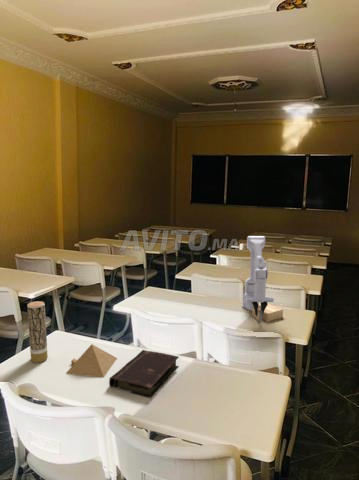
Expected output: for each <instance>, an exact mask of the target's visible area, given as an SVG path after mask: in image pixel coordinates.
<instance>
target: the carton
mask: <svg viewBox="0 0 359 480" xmlns="http://www.w3.org/2000/svg"><path fill="white" fill-rule="evenodd" d="M253 308H254V307H253ZM260 310H261V305H259V306H258V313H259V311H260ZM283 314H284V309H283V308H280V307H278V306H275V305H273V304H270V303H268V305H267V307H266V308H265V310H264V313H263V316H262V321H266V322H271V321H274V320H278V319H281V318H283V317H284V315H283Z"/></svg>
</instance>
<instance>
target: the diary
mask: <svg viewBox="0 0 359 480" xmlns="http://www.w3.org/2000/svg"><path fill="white" fill-rule="evenodd" d="M179 358H180V357H179V356H178V355H177V356H176V355H173V354H169V353H164V352H159V351H158V352H157V351H152V350H145V349H142V350H140V352H139V353H138V354H137V355H135V357H133V358H132V359H131V360H129V361H128V362H127V363H125V365H124V366H122V367H121V368H119V370H118V371H117V372H116V373H114V374H112V376H110V377H109V381H108V383H109V384H108V385H109V388H112V387H114V386H115V388H118V389H120V390H121V389H122V390H125V391H129V392H130V394H133V395H138V396H141V397H144V398H147V399H148V398H152V397H153V396H154V395H155V394H156V393H157V392H158V391H159V390H160V389H161V388H162V386H163V385H164V384H165V382H167V381H168V380H169V378H170V377H171V375H172V374H173V373H174V372H176V370H177V369H178V368H179V367H180V366H179V365H177V360H178V359H179Z"/></svg>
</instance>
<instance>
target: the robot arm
mask: <svg viewBox="0 0 359 480" xmlns="http://www.w3.org/2000/svg"><path fill="white" fill-rule="evenodd" d="M265 246H266V237H265V235H263V236H262V235H260V236H259V235H247V237H246V249H247V250H249V252H250V262H249V263H250V265H249V266H250V267H249V268H250V270H249V271H250V273H249V277H248V278H247V279H246V280H244V281H245V283H244V293H243V296H242V305H241V307H242V308H244V309H246V310H248V311H250V312H252V308H253V307H254V310H255V315H256V316H258V306H261V311H262V313H264V310H265V308H266V307H267V305H268V304H269V303H274V302H275V301H274V297H266V292H267V291H266V289H267V279H268V277H269V271H268V268H267V266H266V260H265V258H264V257H263V250H264V248H265ZM262 316H263V314H262Z"/></svg>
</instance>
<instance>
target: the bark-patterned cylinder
mask: <svg viewBox="0 0 359 480" xmlns="http://www.w3.org/2000/svg"><path fill="white" fill-rule="evenodd" d="M26 308H27V319H28V320H27V321H28V322H27V323H28V334H29V337H28V338H29V352H30V360H31V362H33V363H42V362H45V361H46V360H47V359H48V339H47V323H46V322H47V321H46V319H47V318H46V306H45V301H41V300H40V301H38V300H37V301H30V302H28V303H27V307H26Z"/></svg>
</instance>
